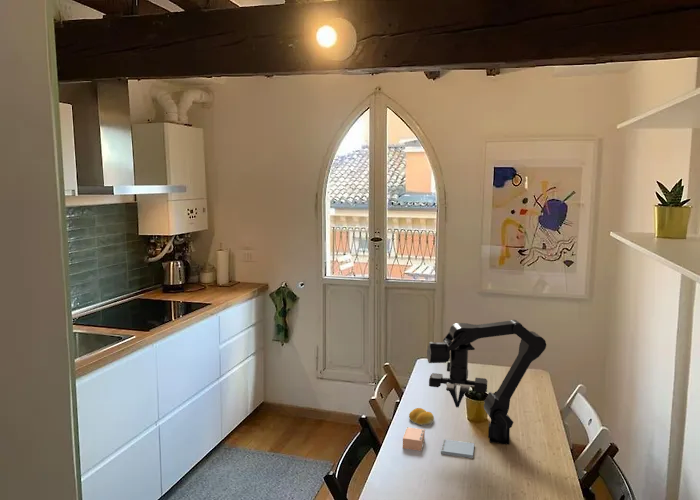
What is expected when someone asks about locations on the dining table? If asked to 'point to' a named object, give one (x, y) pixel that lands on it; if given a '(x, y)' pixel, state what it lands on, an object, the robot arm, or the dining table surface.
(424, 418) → the bread roll
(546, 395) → the dining table surface
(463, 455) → the blue-grey flat panel
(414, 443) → the stub
